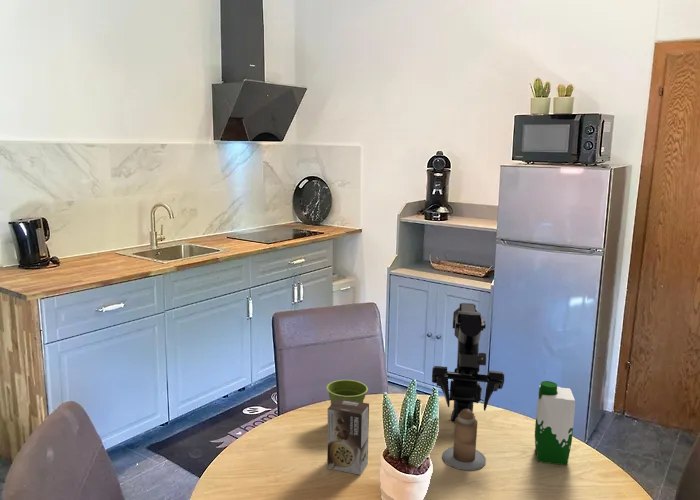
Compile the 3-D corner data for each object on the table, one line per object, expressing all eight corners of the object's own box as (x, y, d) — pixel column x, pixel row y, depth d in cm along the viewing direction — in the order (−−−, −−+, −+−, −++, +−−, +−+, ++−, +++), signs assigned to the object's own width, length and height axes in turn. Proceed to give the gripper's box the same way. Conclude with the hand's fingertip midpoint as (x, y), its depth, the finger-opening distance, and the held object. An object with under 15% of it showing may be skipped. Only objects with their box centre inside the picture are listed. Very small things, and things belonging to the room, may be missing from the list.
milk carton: (531, 446, 157) (537, 376, 154) (566, 450, 155) (573, 380, 152) (534, 463, 149) (541, 389, 145) (572, 467, 147) (579, 393, 143)
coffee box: (368, 462, 147) (370, 403, 144) (360, 476, 141) (362, 414, 138) (334, 455, 150) (336, 397, 147) (325, 468, 144) (327, 407, 141)
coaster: (444, 445, 156) (444, 443, 156) (486, 451, 154) (486, 449, 154) (440, 466, 146) (440, 464, 146) (485, 473, 143) (485, 471, 143)
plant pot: (367, 435, 161) (368, 397, 159) (324, 433, 161) (325, 395, 159) (366, 415, 173) (367, 379, 171) (326, 414, 173) (327, 378, 171)
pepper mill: (456, 449, 154) (458, 403, 151) (477, 454, 151) (480, 407, 149) (450, 459, 149) (453, 411, 146) (472, 464, 146) (475, 416, 144)
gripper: (434, 337, 154) (430, 393, 145) (506, 343, 151) (507, 400, 142) (433, 354, 163) (430, 408, 154) (501, 360, 160) (502, 416, 151)
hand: (466, 408), depth 150 cm, fingers open, 9 cm apart
